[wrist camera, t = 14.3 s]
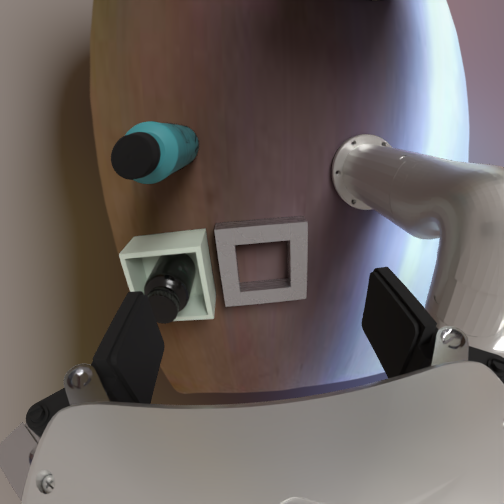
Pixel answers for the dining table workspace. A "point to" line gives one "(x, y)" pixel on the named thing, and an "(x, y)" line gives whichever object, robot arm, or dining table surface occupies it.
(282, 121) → the dining table surface
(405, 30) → the dining table surface
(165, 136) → the beverage bottle
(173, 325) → the dining table surface
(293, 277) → the socket block
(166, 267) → the supplement bottle
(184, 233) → the bin
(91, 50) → the dining table surface
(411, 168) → the robot arm
